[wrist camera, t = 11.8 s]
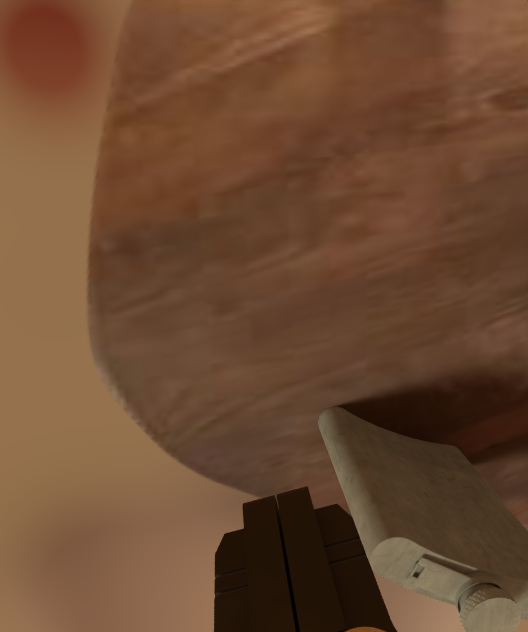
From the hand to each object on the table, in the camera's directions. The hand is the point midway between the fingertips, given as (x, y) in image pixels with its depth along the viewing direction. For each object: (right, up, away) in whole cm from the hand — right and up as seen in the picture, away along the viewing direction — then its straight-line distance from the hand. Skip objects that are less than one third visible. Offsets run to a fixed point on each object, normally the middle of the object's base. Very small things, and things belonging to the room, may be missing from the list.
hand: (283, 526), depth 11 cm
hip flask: (+12, -8, +38) cm, 41 cm away
